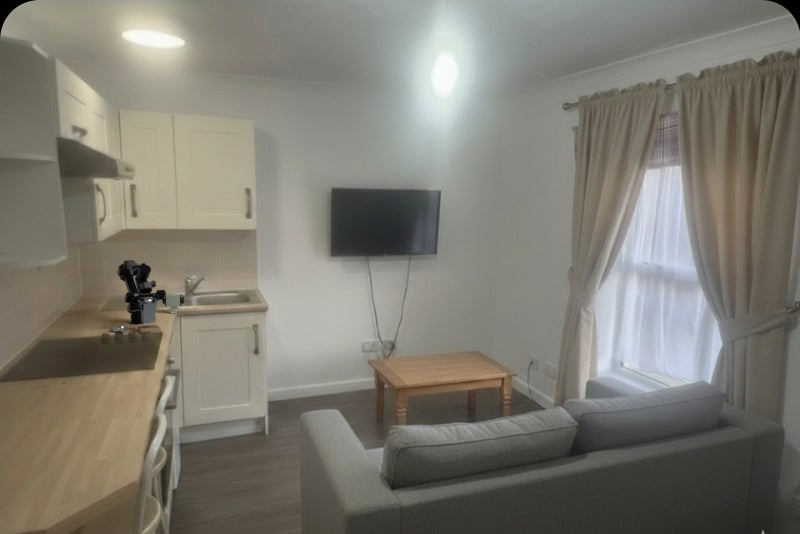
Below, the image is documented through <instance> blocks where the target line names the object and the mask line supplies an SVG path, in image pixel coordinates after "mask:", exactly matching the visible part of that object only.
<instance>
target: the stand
mask: <svg viewBox="0 0 800 534" xmlns="http://www.w3.org/2000/svg"><path fill="white" fill-rule="evenodd" d="M161 329H162V327H160V326H159V325H157V324H155V323H154V324H148V325H140V326H136V331H137V332H139V334H141V333H142V332H144V331H147V332H150V333H149V334H151V333H152V334H153V333H160V332H162V331H161Z"/></svg>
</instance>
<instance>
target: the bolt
mask: <svg viewBox="0 0 800 534" xmlns="http://www.w3.org/2000/svg"><path fill="white" fill-rule="evenodd" d="M109 331H110V332H112V333H119V332H118V331H121V332H120V333H126V331H127V325H124V324H122V325H121V326H119V327H118V326H110V327H109Z"/></svg>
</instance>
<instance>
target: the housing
mask: <svg viewBox="0 0 800 534" xmlns="http://www.w3.org/2000/svg"><path fill="white" fill-rule="evenodd" d="M152 300H153V297H149V298H145V299H144V302H141V303H142V306H143V311H142V310H141V319H142V322H143V323H142V324H151V323H156V322H157V321H156V309H155V303H154V302H153V301H152Z"/></svg>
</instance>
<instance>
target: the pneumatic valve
mask: <svg viewBox="0 0 800 534" xmlns="http://www.w3.org/2000/svg"><path fill="white" fill-rule="evenodd" d="M185 298H186V297H185V296H183V294H175V293H172V294H166V295H165V297H164V299H163V300H161V301H162V305H164V307H170V308H168V313H170V312H173V313H175V315H176V314H178V313H179V312H180V311H179V310H180V308H178V307H182V306H183V305H184V304H185V302H186V301H185V300H186V299H185Z"/></svg>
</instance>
